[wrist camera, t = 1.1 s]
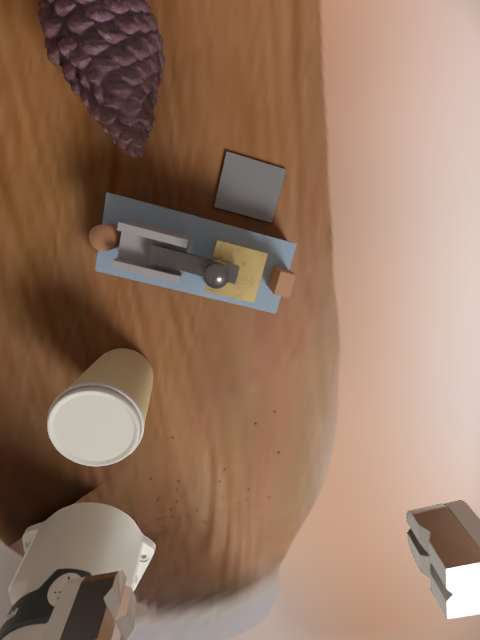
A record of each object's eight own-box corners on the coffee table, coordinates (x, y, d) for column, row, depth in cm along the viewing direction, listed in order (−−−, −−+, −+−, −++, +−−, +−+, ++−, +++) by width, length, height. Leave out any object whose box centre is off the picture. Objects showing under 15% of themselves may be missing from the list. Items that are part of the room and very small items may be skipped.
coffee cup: (75, 354, 43) (25, 404, 32) (144, 332, 43) (120, 375, 32) (105, 414, 46) (69, 480, 35) (170, 394, 46) (156, 453, 34)
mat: (271, 222, 40) (271, 222, 40) (213, 206, 39) (213, 206, 39) (285, 170, 38) (286, 169, 38) (226, 151, 37) (226, 151, 37)
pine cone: (184, 159, 37) (175, 140, 28) (95, 170, 37) (54, 155, 28) (152, -44, 32) (127, -153, 22) (46, -33, 32) (-25, -139, 22)
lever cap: (249, 293, 37) (254, 303, 34) (205, 283, 37) (204, 291, 33) (262, 249, 36) (268, 253, 32) (216, 237, 35) (217, 240, 31)
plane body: (268, 302, 43) (286, 330, 33) (109, 264, 40) (73, 281, 30) (287, 240, 41) (312, 249, 30) (119, 195, 38) (84, 187, 28)
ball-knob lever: (233, 283, 32) (237, 294, 28) (150, 263, 31) (140, 270, 27) (239, 263, 32) (243, 270, 27) (154, 241, 30) (144, 245, 26)
